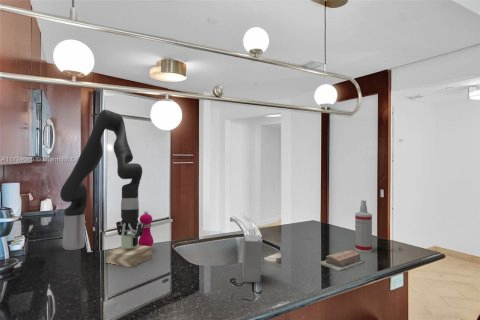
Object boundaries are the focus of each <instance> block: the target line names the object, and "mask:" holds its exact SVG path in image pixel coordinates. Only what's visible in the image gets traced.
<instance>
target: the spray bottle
mask: <svg viewBox="0 0 480 320" xmlns="http://www.w3.org/2000/svg"><path fill="white" fill-rule="evenodd" d="M354 215H355V217H354V219H355V220H354V221H355V223H354V225H355V226H354V227H355V229H354V234H355V235H354V237H355V238H354V240H355V241H354V242H355V243H354V244H355V245H354V248H355V250H356V252H360V253H372V252H373V213H370V212H368V206H367V200H361V201H360V207H359V211H358V212H356V213H354Z"/></svg>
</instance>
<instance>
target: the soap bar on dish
mask: <svg viewBox="0 0 480 320" xmlns="http://www.w3.org/2000/svg"><path fill="white" fill-rule="evenodd" d="M364 263H365V260H361V254H360V253H359V251H354V250H352V249H347V250H343V251H340V252H335V253H332V254H329V255H326V256H325V260H322V261H320V265H321V266H324V267H326V268H329V269H333V270H334V271H338V272H341V271H344V270H347V269H350V268H352V267H356V266H358V265H361V264H364Z"/></svg>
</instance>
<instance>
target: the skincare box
mask: <svg viewBox="0 0 480 320" xmlns="http://www.w3.org/2000/svg"><path fill="white" fill-rule="evenodd" d="M242 253H243V255H242V270H241V274H242V275H241V276H242V280H243V282H244V283H261V275H262V256H263V255H262V253H263V241H262V237H261V235H259V234H244V236H243V252H242Z"/></svg>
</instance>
